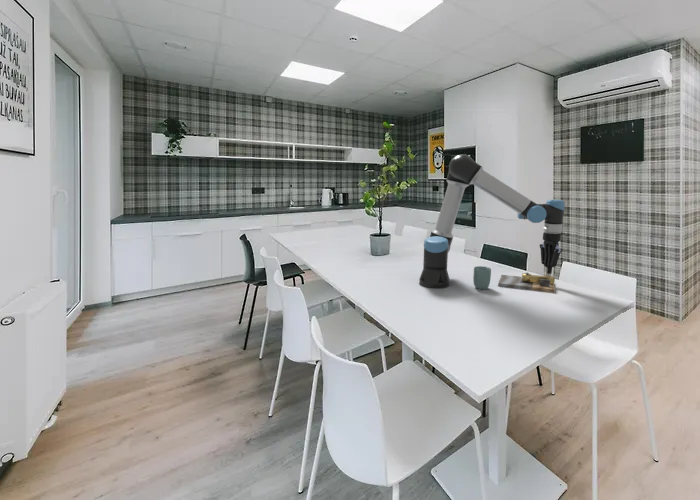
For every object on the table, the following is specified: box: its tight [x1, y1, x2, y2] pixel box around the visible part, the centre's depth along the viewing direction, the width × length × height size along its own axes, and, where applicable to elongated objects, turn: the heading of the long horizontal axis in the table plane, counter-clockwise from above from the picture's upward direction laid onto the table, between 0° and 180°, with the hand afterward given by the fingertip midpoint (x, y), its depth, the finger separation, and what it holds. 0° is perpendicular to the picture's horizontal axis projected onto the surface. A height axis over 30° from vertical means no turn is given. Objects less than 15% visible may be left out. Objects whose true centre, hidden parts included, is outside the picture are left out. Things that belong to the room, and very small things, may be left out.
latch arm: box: [521, 272, 556, 285], centre depth 170 cm, size 14×4×4 cm, turn 70°
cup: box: [473, 265, 492, 290], centre depth 168 cm, size 8×8×10 cm
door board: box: [497, 274, 556, 294], centre depth 173 cm, size 24×18×5 cm
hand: (546, 279), depth 172 cm, fingers closed
